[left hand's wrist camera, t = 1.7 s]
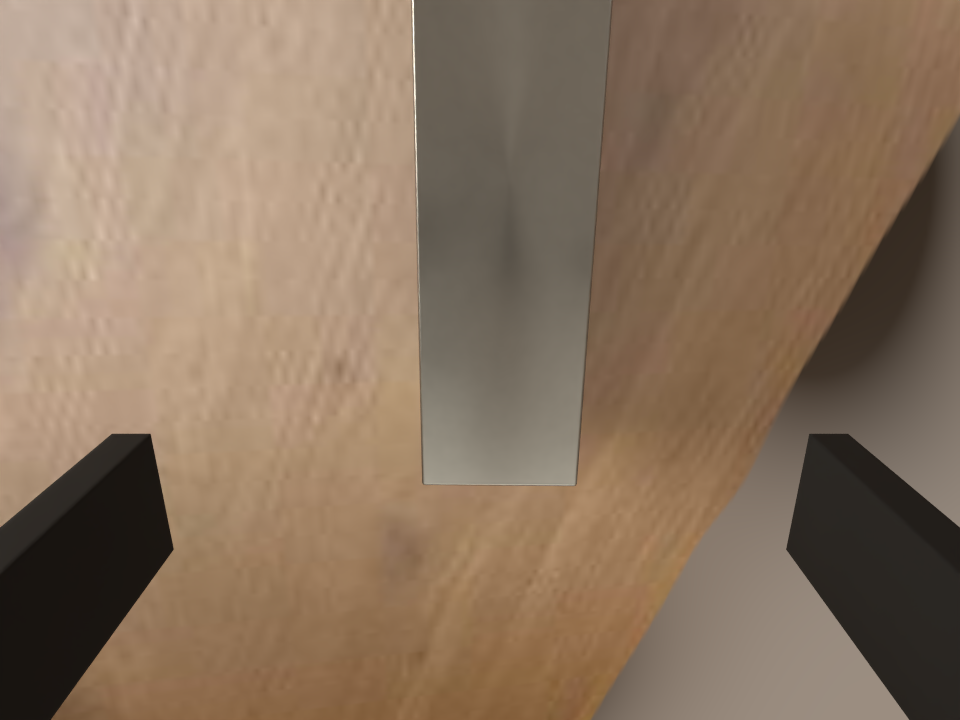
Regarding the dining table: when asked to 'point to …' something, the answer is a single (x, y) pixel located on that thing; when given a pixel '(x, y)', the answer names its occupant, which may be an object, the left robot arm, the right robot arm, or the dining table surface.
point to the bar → (506, 232)
